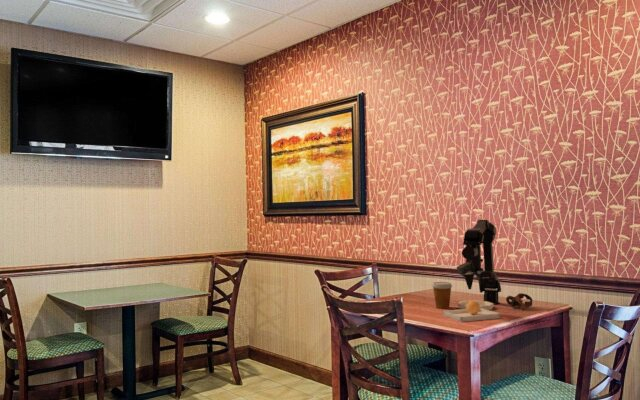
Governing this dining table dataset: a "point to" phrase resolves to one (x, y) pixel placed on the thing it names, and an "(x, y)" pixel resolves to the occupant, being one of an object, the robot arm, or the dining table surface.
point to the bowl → (482, 304)
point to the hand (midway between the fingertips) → (475, 290)
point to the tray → (471, 315)
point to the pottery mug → (519, 301)
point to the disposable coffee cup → (442, 294)
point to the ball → (473, 307)
